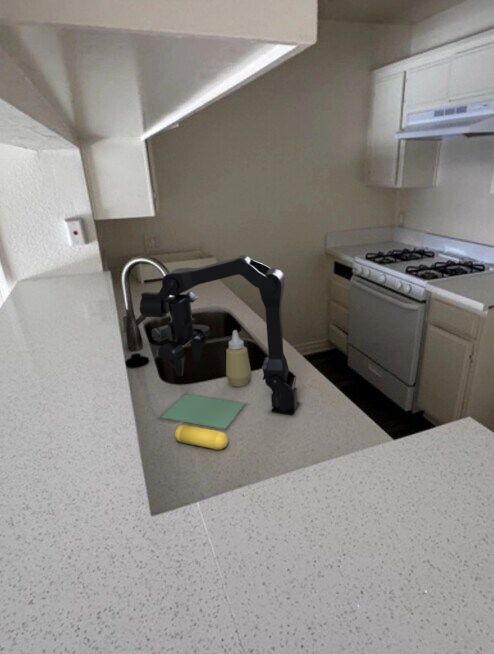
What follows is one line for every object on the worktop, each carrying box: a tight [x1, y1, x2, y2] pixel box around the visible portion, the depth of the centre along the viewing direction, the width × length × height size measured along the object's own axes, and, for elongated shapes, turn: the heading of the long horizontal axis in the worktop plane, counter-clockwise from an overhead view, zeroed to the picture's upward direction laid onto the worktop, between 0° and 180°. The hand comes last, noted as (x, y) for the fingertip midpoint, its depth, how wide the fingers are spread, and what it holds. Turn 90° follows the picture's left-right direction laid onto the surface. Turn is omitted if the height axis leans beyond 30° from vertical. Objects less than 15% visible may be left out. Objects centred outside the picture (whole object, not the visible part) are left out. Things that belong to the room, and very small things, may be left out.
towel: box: [161, 393, 246, 431], centre depth 120 cm, size 20×13×1 cm, turn 70°
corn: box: [174, 424, 229, 451], centre depth 105 cm, size 14×4×4 cm, turn 70°
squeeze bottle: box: [225, 329, 252, 388], centre depth 131 cm, size 8×8×18 cm
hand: (188, 368), depth 119 cm, fingers open, 9 cm apart
